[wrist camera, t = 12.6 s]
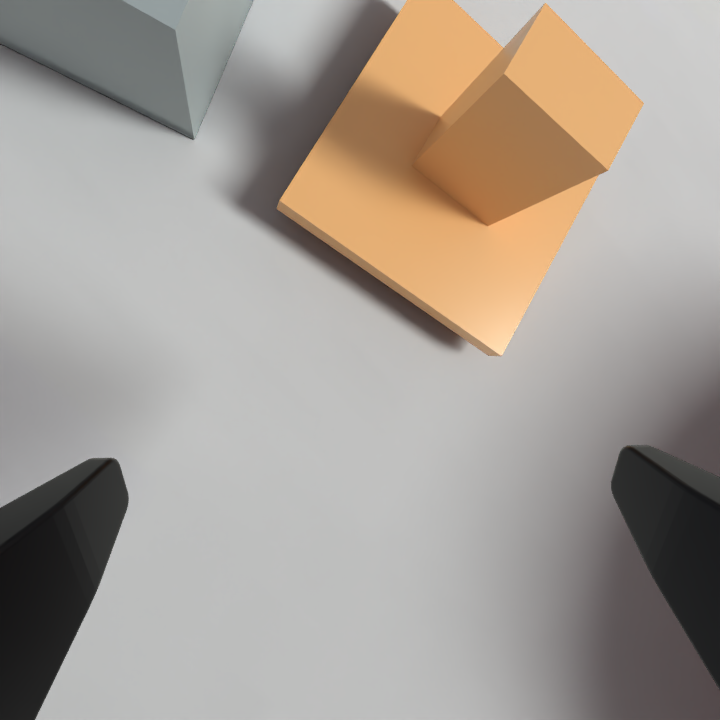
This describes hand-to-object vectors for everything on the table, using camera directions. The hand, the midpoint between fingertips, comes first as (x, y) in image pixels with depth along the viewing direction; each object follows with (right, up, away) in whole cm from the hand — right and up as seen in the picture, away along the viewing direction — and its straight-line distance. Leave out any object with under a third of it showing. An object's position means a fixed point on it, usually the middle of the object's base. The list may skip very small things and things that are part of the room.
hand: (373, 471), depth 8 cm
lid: (+3, +10, +12) cm, 16 cm away
